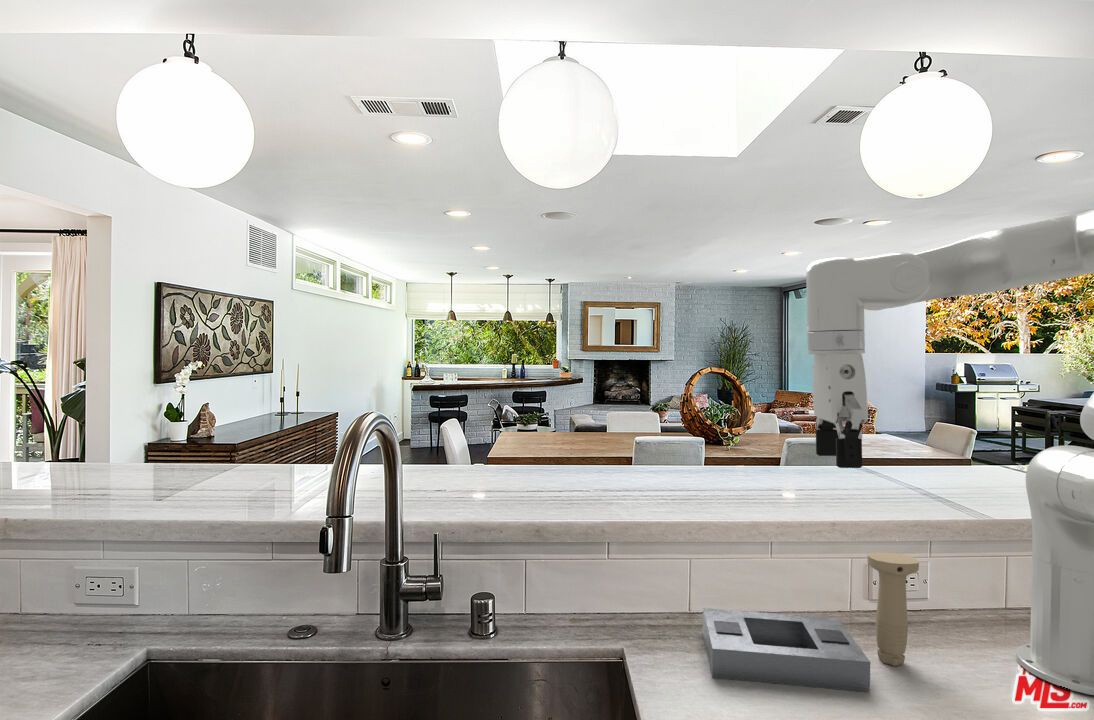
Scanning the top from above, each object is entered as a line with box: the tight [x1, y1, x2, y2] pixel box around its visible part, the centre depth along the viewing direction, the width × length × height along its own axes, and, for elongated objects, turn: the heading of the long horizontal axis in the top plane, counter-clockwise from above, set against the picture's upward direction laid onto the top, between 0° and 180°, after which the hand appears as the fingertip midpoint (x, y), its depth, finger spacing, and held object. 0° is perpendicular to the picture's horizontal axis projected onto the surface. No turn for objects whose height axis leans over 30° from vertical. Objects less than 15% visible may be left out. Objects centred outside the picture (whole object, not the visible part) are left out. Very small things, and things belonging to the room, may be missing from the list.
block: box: [702, 607, 871, 693], centre depth 86 cm, size 20×13×4 cm, turn 81°
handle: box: [866, 551, 920, 667], centre depth 86 cm, size 5×6×15 cm
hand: (837, 461), depth 87 cm, fingers open, 9 cm apart
